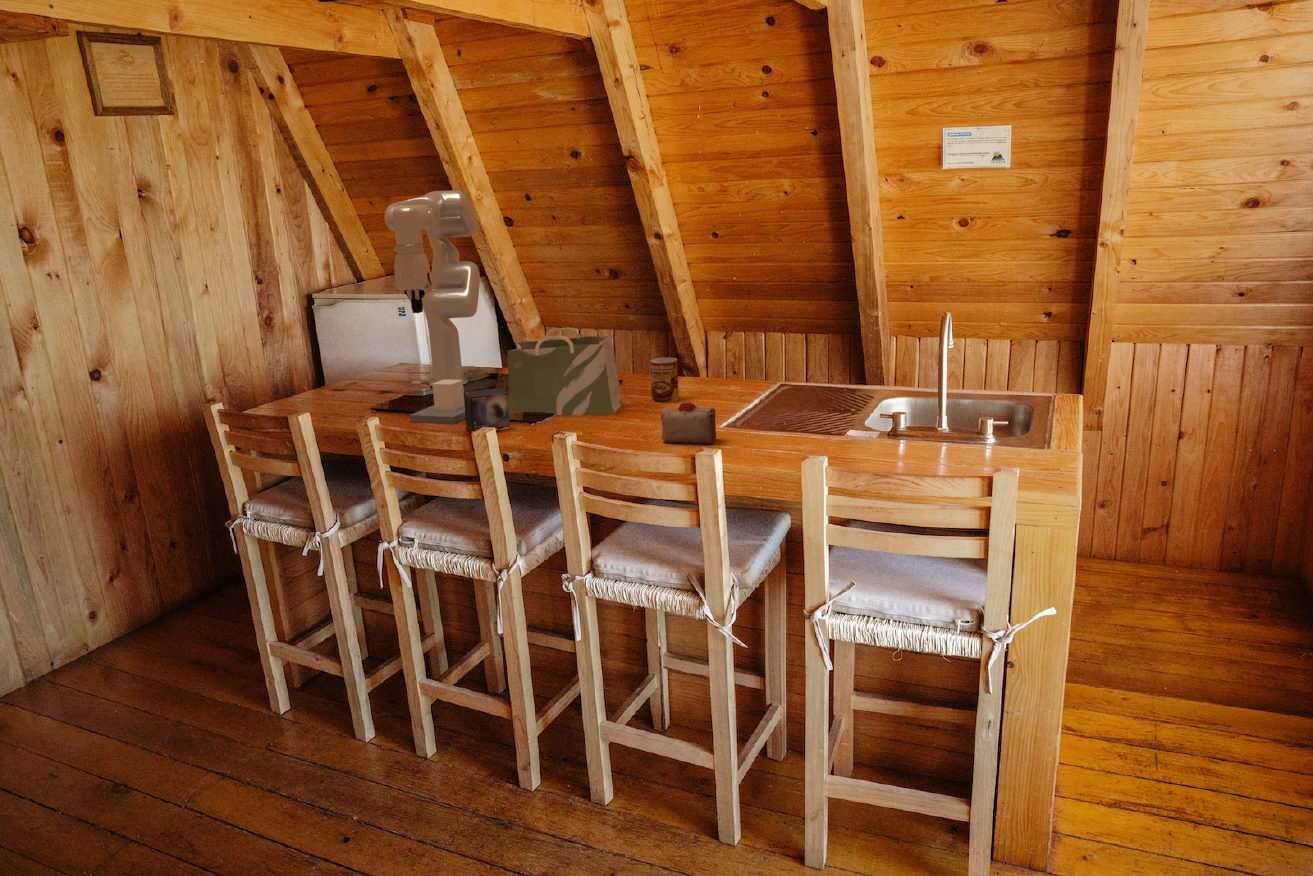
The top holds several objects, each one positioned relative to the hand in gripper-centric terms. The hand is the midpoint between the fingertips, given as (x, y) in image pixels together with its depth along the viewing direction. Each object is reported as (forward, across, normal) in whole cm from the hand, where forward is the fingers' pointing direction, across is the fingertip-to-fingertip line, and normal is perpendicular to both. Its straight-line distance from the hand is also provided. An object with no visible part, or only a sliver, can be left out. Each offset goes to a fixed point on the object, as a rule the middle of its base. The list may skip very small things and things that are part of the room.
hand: (417, 312), depth 284 cm
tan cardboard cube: (+25, +16, -14) cm, 33 cm away
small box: (+27, +36, -29) cm, 53 cm away
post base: (+27, +16, -14) cm, 35 cm away
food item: (+26, +92, -31) cm, 101 cm away
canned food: (+28, +73, +11) cm, 79 cm away
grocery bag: (+27, +47, -4) cm, 55 cm away
